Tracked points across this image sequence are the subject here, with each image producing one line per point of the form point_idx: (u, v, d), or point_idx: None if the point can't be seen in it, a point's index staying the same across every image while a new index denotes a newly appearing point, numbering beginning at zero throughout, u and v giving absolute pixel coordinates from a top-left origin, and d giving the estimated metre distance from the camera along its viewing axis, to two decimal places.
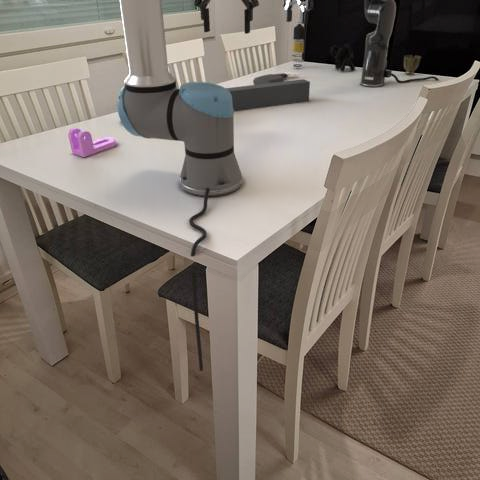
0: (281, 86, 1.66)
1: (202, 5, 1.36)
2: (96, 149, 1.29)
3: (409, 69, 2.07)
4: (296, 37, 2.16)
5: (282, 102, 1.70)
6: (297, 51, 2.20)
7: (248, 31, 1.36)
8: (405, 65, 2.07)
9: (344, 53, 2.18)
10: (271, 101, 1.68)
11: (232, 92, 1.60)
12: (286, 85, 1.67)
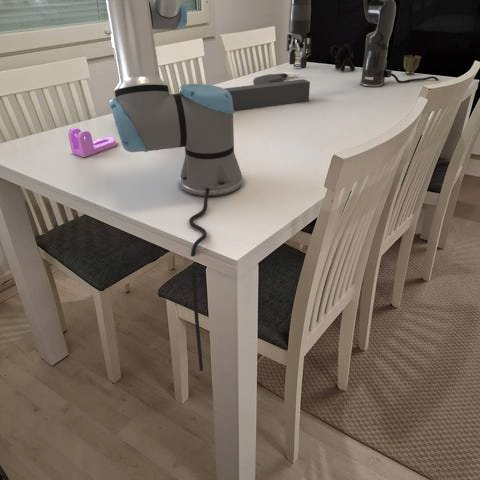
0: (281, 86, 1.66)
1: None
2: (96, 149, 1.29)
3: (409, 69, 2.07)
4: None
5: (282, 102, 1.70)
6: (297, 51, 2.20)
7: None
8: (405, 65, 2.07)
9: (344, 53, 2.18)
10: (271, 101, 1.68)
11: (232, 92, 1.60)
12: (286, 85, 1.67)
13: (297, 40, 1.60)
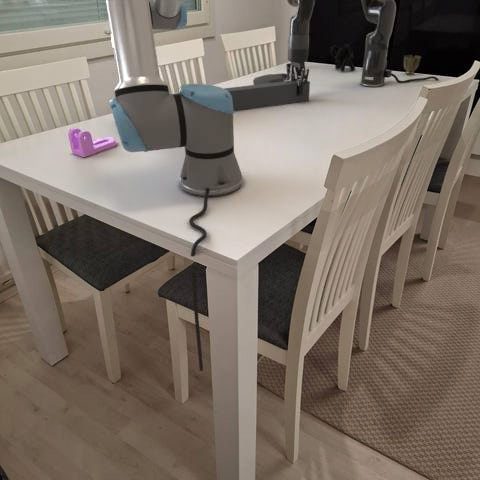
0: (281, 86, 1.66)
1: None
2: (96, 149, 1.29)
3: (409, 69, 2.07)
4: None
5: (282, 102, 1.70)
6: None
7: None
8: (405, 65, 2.07)
9: (344, 53, 2.18)
10: (271, 101, 1.68)
11: (232, 92, 1.60)
12: (286, 85, 1.67)
13: (296, 68, 1.66)
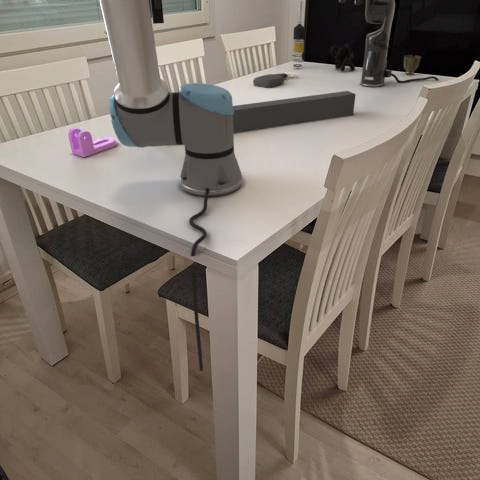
0: (325, 99, 1.50)
1: None
2: (96, 149, 1.29)
3: (409, 69, 2.07)
4: (296, 37, 2.16)
5: (325, 117, 1.53)
6: (297, 51, 2.20)
7: (158, 21, 1.14)
8: (405, 65, 2.07)
9: (344, 53, 2.18)
10: (313, 116, 1.51)
11: (272, 106, 1.43)
12: (330, 98, 1.50)
13: None
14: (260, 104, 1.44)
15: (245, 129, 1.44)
